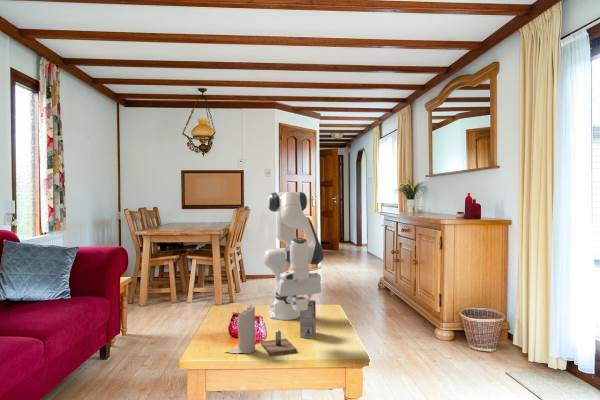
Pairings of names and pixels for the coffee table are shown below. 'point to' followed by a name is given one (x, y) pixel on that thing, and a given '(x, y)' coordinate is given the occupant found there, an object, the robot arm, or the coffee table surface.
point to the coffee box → (308, 321)
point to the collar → (300, 303)
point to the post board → (278, 347)
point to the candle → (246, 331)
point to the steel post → (278, 338)
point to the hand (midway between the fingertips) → (299, 304)
